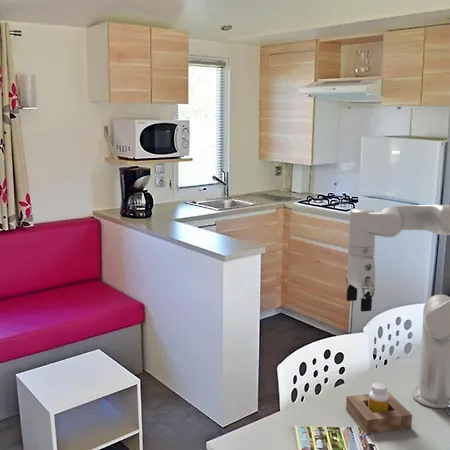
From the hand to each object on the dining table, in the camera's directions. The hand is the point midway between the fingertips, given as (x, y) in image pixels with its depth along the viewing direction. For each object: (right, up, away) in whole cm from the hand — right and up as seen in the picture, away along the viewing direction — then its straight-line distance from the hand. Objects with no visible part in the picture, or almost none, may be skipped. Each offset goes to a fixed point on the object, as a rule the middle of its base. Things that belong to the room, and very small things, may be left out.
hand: (358, 305), depth 168 cm
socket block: (+2, -29, -14) cm, 33 cm away
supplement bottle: (+2, -30, -13) cm, 32 cm away
